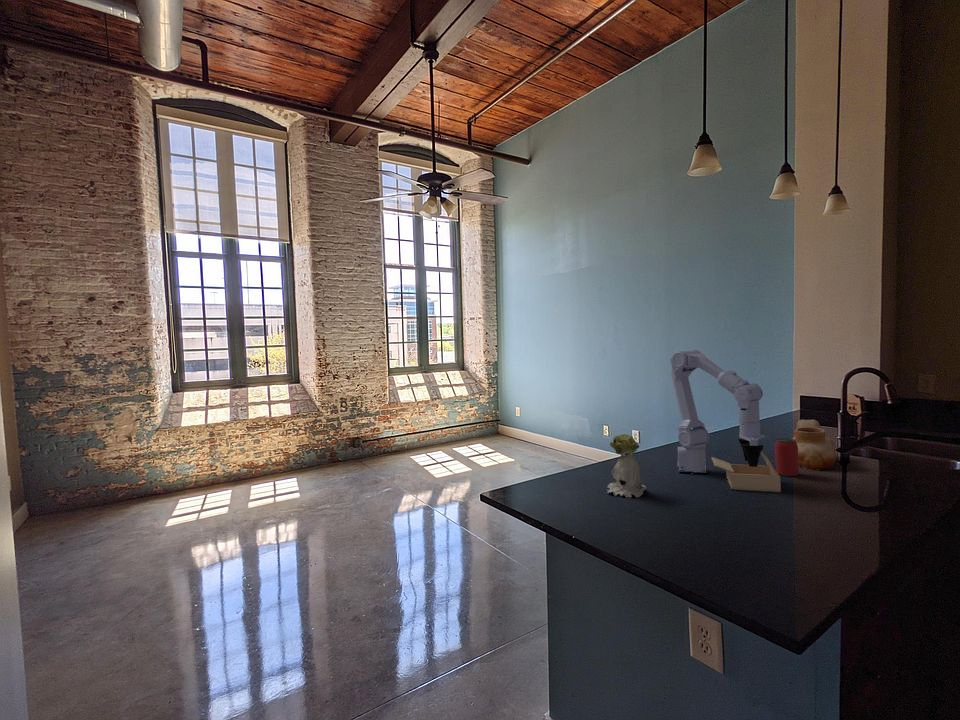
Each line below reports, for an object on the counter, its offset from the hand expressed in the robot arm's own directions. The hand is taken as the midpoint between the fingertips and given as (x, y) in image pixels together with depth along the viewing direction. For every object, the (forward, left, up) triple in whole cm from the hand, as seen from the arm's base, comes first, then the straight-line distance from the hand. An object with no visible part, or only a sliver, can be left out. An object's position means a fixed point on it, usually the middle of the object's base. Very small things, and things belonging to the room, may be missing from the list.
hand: (751, 463), depth 148 cm
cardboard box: (0, 0, -7) cm, 7 cm away
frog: (-38, -16, -7) cm, 42 cm away
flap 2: (+4, 0, +1) cm, 5 cm away
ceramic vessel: (+25, +36, -7) cm, 44 cm away
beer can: (+13, +16, -7) cm, 22 cm away
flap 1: (-8, 0, 0) cm, 8 cm away
